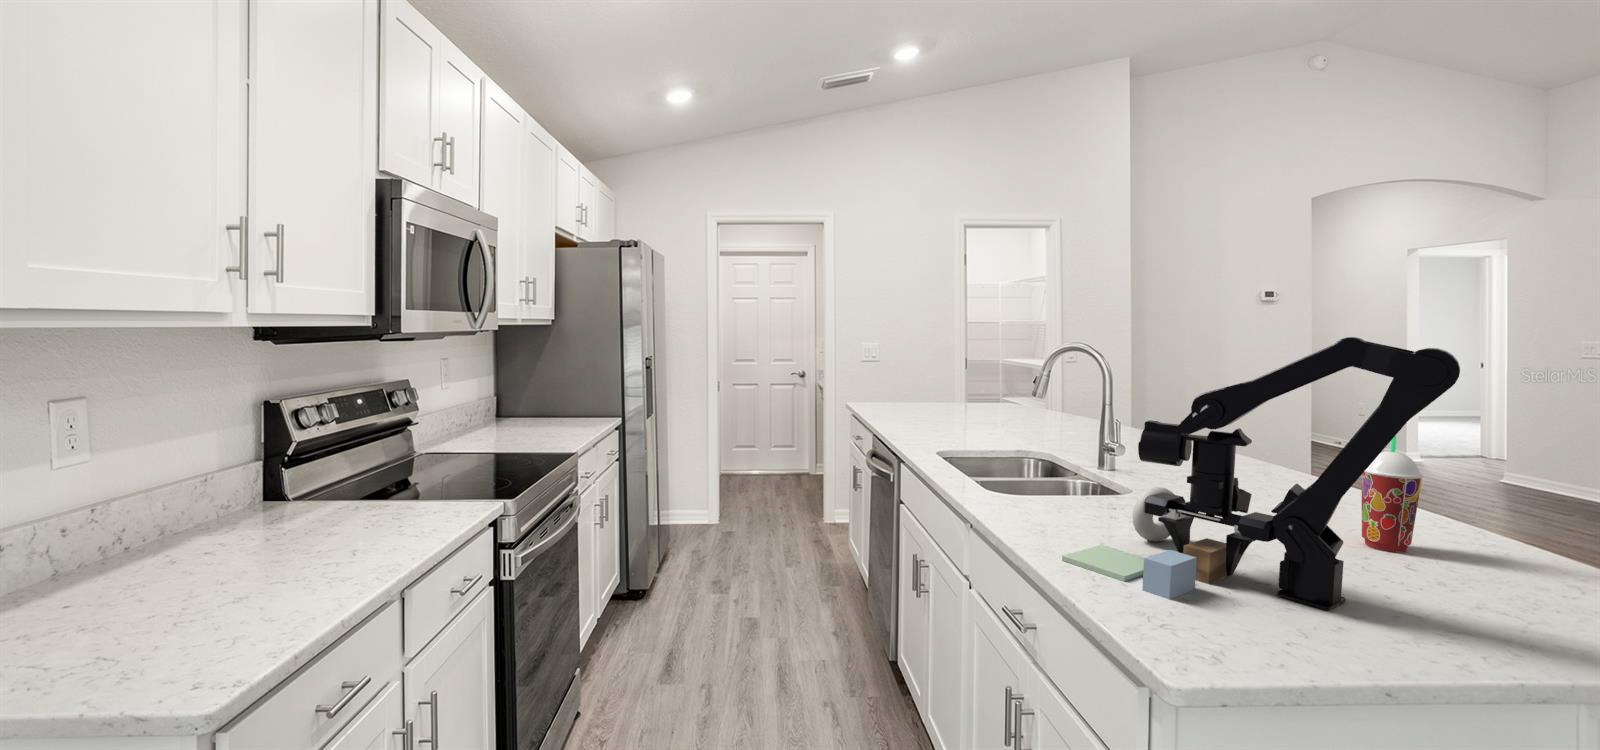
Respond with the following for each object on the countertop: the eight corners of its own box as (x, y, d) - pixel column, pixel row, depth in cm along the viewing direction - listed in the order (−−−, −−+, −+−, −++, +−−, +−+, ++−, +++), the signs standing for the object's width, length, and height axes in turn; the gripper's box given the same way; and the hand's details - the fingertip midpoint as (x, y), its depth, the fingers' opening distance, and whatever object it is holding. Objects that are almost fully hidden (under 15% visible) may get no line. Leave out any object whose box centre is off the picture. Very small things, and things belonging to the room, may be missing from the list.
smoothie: (1429, 555, 121) (1439, 440, 120) (1380, 554, 121) (1389, 439, 120) (1390, 540, 130) (1398, 432, 128) (1344, 539, 130) (1351, 432, 128)
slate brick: (1194, 590, 105) (1196, 557, 104) (1169, 600, 101) (1170, 566, 100) (1168, 581, 108) (1169, 549, 108) (1142, 591, 104) (1144, 558, 104)
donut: (1141, 546, 124) (1144, 491, 123) (1126, 541, 127) (1128, 486, 127) (1183, 541, 128) (1186, 486, 127) (1167, 535, 131) (1170, 482, 130)
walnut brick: (1231, 575, 111) (1233, 544, 110) (1208, 584, 107) (1210, 552, 106) (1204, 568, 114) (1206, 538, 114) (1181, 576, 110) (1183, 545, 110)
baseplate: (1163, 567, 114) (1163, 563, 114) (1124, 581, 108) (1124, 576, 107) (1101, 549, 123) (1101, 544, 123) (1062, 560, 117) (1062, 555, 117)
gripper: (1304, 476, 106) (1297, 577, 107) (1180, 455, 121) (1175, 544, 123) (1270, 485, 100) (1263, 592, 101) (1143, 462, 115) (1139, 555, 116)
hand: (1207, 569), depth 110 cm, fingers open, 6 cm apart
